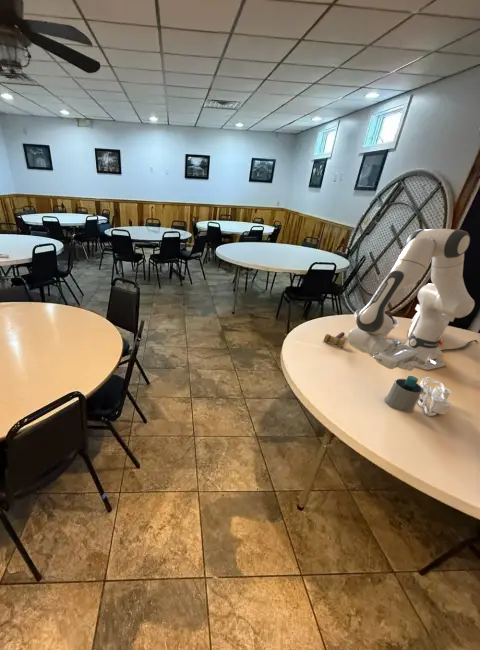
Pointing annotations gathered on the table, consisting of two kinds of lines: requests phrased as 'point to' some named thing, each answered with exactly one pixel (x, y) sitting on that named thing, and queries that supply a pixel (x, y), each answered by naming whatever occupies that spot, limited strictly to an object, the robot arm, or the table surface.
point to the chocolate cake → (395, 321)
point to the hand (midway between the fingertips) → (418, 366)
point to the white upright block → (417, 316)
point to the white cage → (435, 397)
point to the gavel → (335, 339)
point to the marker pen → (410, 383)
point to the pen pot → (403, 396)
